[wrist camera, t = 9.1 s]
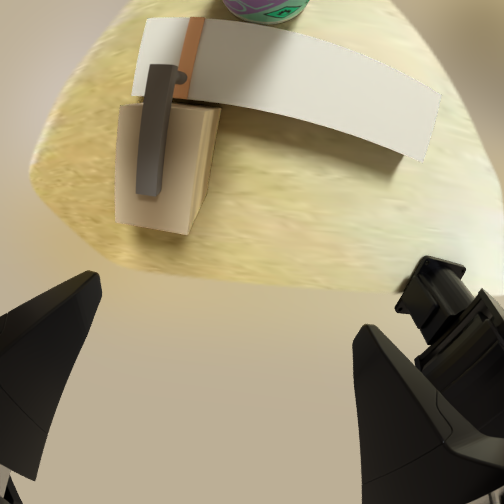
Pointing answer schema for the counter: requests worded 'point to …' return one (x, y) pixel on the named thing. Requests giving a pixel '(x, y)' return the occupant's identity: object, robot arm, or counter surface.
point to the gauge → (163, 156)
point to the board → (291, 79)
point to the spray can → (265, 10)
